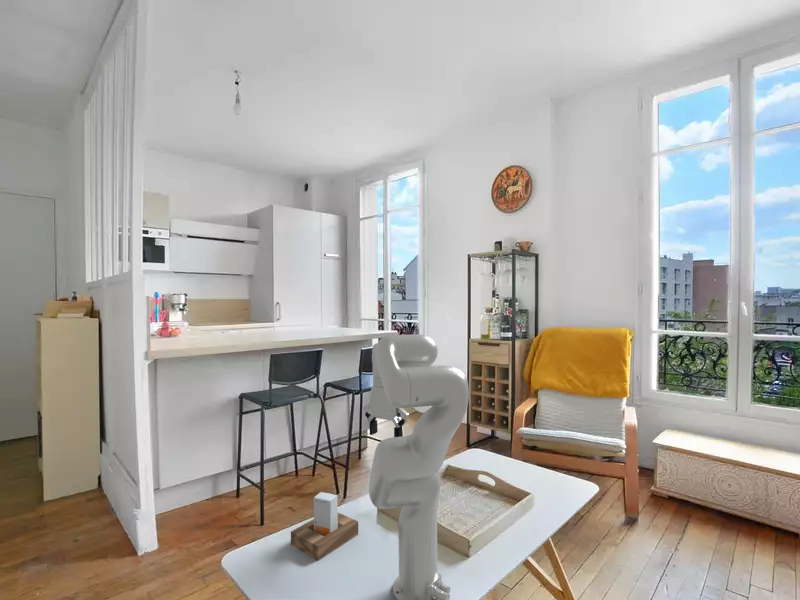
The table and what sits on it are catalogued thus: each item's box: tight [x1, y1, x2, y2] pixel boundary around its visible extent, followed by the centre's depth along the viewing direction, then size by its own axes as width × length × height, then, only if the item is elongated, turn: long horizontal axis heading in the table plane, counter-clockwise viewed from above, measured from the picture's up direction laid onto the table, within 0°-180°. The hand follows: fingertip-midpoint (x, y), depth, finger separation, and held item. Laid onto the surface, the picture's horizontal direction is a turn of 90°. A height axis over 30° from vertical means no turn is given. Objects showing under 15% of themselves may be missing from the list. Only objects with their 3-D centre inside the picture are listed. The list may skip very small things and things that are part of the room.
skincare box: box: [313, 491, 339, 536], centre depth 125 cm, size 6×4×12 cm
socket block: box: [290, 512, 359, 561], centre depth 125 cm, size 12×16×4 cm
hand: (385, 436), depth 132 cm, fingers open, 9 cm apart
